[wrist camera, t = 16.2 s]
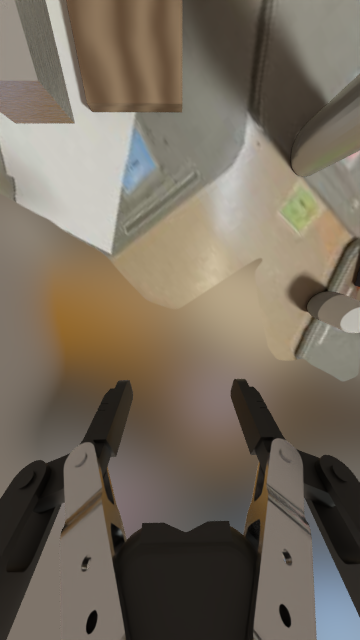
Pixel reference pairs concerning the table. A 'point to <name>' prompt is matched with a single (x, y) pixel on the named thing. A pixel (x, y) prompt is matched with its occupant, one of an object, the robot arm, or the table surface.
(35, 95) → the bar
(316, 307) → the smart speaker
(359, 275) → the red black flat block
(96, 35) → the stand
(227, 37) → the table surface
